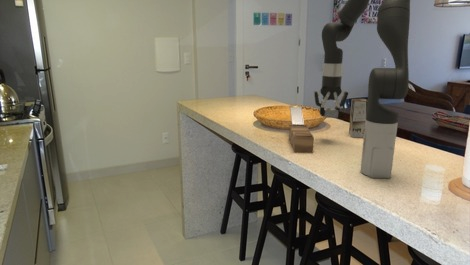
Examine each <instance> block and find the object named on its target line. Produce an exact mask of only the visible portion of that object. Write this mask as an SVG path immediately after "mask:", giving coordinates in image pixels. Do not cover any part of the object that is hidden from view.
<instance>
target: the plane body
mask: <svg viewBox="0 0 470 265" xmlns="http://www.w3.org/2000/svg"><path fill="white" fill-rule="evenodd" d="M288 136H289V137H288V140H289V142H290V145H291V147H292V150H293V152H294V153H301V154H302V153H303V154H304V153H305V154H306V153H309V154H310V153H311V154H313V153H314V142H315V141H314V139H315V138H314V136H313V134H312V133H311V130H310V129H309V127H308V126H307V125H305V124H304V125H292V124H290V125H289V135H288Z"/></svg>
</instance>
